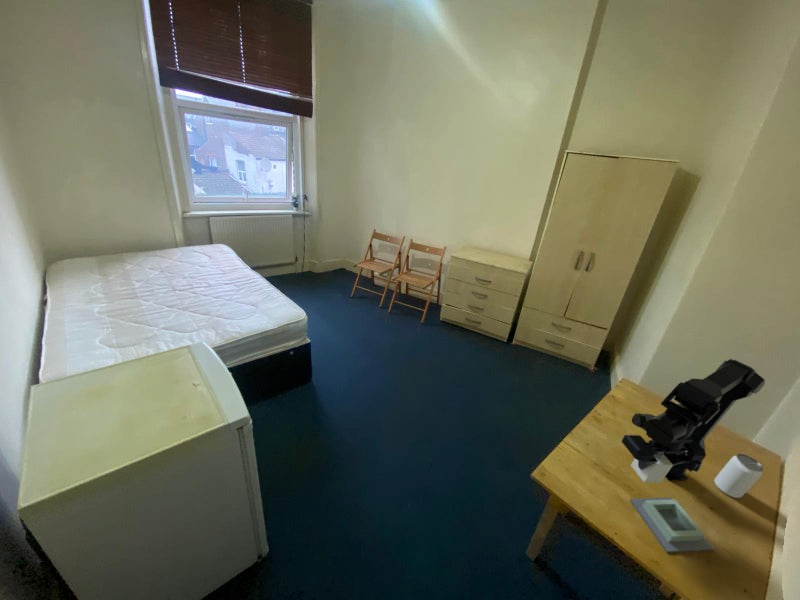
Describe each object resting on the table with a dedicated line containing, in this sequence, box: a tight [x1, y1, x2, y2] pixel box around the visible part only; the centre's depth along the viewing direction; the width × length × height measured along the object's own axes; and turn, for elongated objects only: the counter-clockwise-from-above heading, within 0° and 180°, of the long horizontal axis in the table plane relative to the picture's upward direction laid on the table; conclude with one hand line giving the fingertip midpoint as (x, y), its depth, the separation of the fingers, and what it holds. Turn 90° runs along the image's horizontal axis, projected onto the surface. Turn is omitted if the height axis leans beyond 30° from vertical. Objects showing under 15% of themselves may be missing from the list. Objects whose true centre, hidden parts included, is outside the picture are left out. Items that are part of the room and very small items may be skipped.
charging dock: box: [629, 497, 714, 553], centre depth 86 cm, size 13×13×3 cm
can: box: [713, 453, 764, 499], centre depth 96 cm, size 6×6×12 cm
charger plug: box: [630, 453, 673, 483], centre depth 87 cm, size 5×5×8 cm
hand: (649, 468), depth 88 cm, fingers closed on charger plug, 5 cm apart
